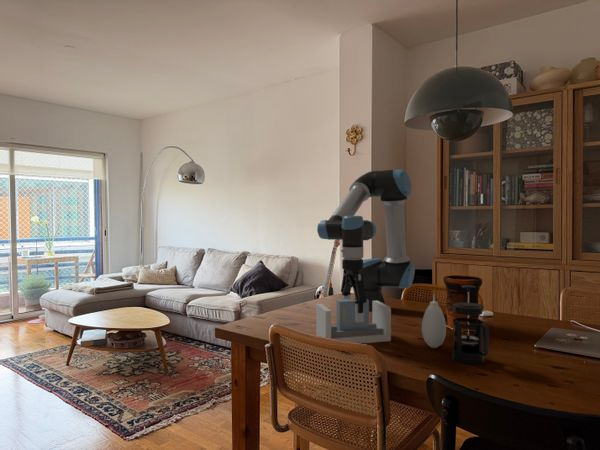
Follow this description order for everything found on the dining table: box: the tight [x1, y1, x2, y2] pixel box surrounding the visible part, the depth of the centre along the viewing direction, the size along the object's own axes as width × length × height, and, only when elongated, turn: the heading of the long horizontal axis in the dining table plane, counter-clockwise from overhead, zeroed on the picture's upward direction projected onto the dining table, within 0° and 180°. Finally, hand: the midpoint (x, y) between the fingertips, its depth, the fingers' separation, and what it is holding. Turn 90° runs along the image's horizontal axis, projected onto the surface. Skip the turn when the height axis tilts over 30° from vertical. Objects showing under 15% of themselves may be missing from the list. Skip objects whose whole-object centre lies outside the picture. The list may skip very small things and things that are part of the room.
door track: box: [315, 301, 392, 344], centre depth 156 cm, size 24×12×12 cm, turn 103°
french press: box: [451, 285, 490, 366], centre depth 132 cm, size 12×9×23 cm
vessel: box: [443, 274, 483, 331], centre depth 170 cm, size 14×14×20 cm
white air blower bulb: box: [421, 294, 447, 349], centre depth 145 cm, size 8×8×18 cm
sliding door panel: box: [336, 298, 370, 331], centre depth 156 cm, size 11×4×12 cm, turn 103°
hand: (352, 317), depth 156 cm, fingers open, 13 cm apart
